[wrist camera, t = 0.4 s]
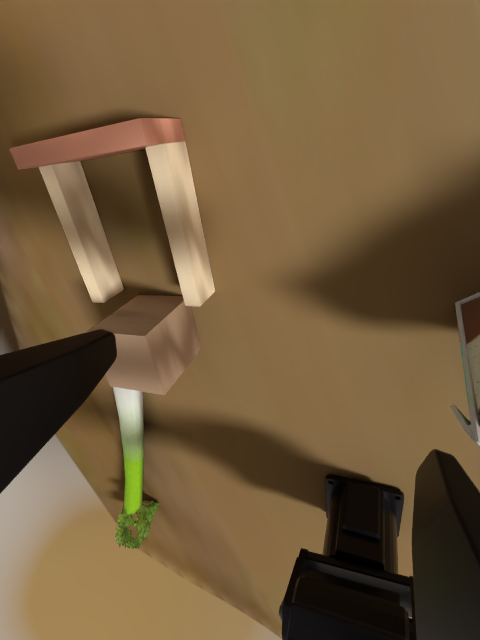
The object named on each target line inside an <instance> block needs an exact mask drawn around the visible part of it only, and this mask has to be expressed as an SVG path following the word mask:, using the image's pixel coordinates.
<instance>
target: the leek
mask: <svg viewBox="0 0 480 640" xmlns="http://www.w3.org/2000/svg"><path fill="white" fill-rule="evenodd" d="M113 390H114V395H115V400H116V405H117V410H118V415H119V421H120V429H121V437H122V445H123V455H124V470H125V494H124V506H123V510H122V513H121V514H122V515H120V514H119V515H118V516H119V518H118V519H117V521H119V522H118V523H119V524H118V523H117V524H116V525H117V526H118V525H119V527H120V528H119V529H118V528H116V531H117V532H116V533H117V534H116V537H118V540H119V539H121V538H122V539H123V541H122V539H121V540H120V542H118V541H117V540H115V541H116V543H119V545H121V544H122V546H124V544H125V547H126V546H127V547H128V548H130V546H131V548H132V549H133V548H139V546H140V543H141V542H143V540H144V539H145V538H146V539H147V536H148V535H149V533H150V531H149V532H148V530H149V529H150V525H151V522H152V521H153V517H152V516H155V515H154V514H155V511H157V510H158V509H157V508H159V505H157V504H159V503H155V502H154V501H151V502H152V505H151V506H150V505H148V506H147V504H145V505H146V506H145V505H143V503H142V499H143V471H144V423H143V392H142V391H136V390H130V389H124V388H117V387H113ZM154 505H156V506H155V507H154ZM135 511H136V514H137V515H138V518H137V522H136V521H135V522H134V520H133V519H132V517H133V515H134V513H135ZM122 522H123V523H122ZM130 522H131V523H130ZM120 523H121V524H120ZM128 525H129V526H131V525H133V526H135V525H136V526H137V533H138V532H140V533H138V536H137V538H136V541H134V540H135V539H134V538H132V536H131V535H132V534H131V532H132V531H131V530H130V534H131V535H130V534H129V527H128ZM136 526H135V527H136ZM147 533H148V534H147ZM146 535H147V536H146ZM131 542H133V544H132V543H131ZM138 545H139V546H138Z"/></svg>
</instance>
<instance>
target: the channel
mask: <svg viewBox="0 0 480 640" xmlns="http://www.w3.org/2000/svg"><path fill="white" fill-rule="evenodd" d="M9 149H10V152H11V154H12V156H13V159H14V161H15V163H16V166H17V168H18V170H21V169H28V168H36V167H39V169H40V172H41V174H42V177H43V179H44V182H45V184H46V187H47V189H48V192H49V194H50V197H51V199H52V202H53V204H54V207H55V209H56V212H57V214H58V217H59V219H60V222H61V224H62V227H63V229H64V232H65V234H66V237H67V239H68V242H69V244H70V247H71V249H72V252H73V254H74V257H75V259H76V262H77V264H78V267H79V269H80V272H81V274H82V277H83V279H84V282H85V284H86V287H87V289H88V292H89V294H90V297H91V299H92V302H98V303H104V302H106V301H107V300H109V299H111V298H112V297H114V296H115V295H117V294H118V293H120V292H121V291H123V290H124V288H123V285H122V282H121V279H120V276H119V273H118V270H117V267H116V265H115V262H114V259H113V256H112V253H111V250H110V247H109V244H108V241H107V238H106V235H105V232H104V229H103V227H102V224H101V221H100V218H99V215H98V212H97V209H96V206H95V203H94V200H93V197H92V194H91V192H90V189H89V186H88V183H87V180H86V177H85V174H84V171H83V168H82V165H81V162H80V161H83V160H89V159H94V158H99V157H105V156H110V155H116V154H121V153H126V152H132V151H137V150H143V149H146V152H147V156H148V160H149V164H150V168H151V172H152V176H153V180H154V184H155V188H156V192H157V196H158V200H159V204H160V208H161V211H162V215H163V219H164V223H165V227H166V231H167V235H168V239H169V243H170V247H171V251H172V255H173V259H174V263H175V267H176V271H177V275H178V279H179V283H180V287H181V291H182V295H183V299H184V303H185V306H201V305H202V304H203V303H204V302H205V301H206V300H207V299H208V298H209V297H210V296H211V295H212V294H213V293H214V292H215V288H214V283H213V278H212V273H211V268H210V263H209V258H208V253H207V248H206V243H205V238H204V233H203V228H202V223H201V218H200V213H199V208H198V203H197V198H196V193H195V188H194V183H193V178H192V173H191V168H190V163H189V158H188V153H187V148H186V142H185V137H184V132H183V127H182V122H181V119H170V118H138V119H134V120H130V121H125V122H121V123H117V124H112V125H108V126H104V127H99V128H95V129H91V130H86V131H82V132H78V133H73V134H69V135H65V136H60V137H56V138H52V139H47V140H43V141H39V142H35V143H30V144H26V145H22V146H17V147H13V148H9Z"/></svg>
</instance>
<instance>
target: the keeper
mask: <svg viewBox="0 0 480 640" xmlns="http://www.w3.org/2000/svg"><path fill="white" fill-rule="evenodd" d="M98 329H105V330H107V331H110V332H113V333H114V335H115V338H116V347H117V357H116V360H115V362H114V363H113V364H112V366H111V367H110V368H109V370H108V371H107V372H106V374H105V375H106V377H107V379H108V382H109V384H110V386H111V387H117V388H124V389H130V390H136V391H142V392H148V393H154V394H160V395H165V394H166V393H167V391H168V390H169V389H170V388H171V386H172V385H173V384H174V383H175V381H176V380H177V379H178V378H179V376H180V375H181V374H182V373H183V371H184V370H185V369H186V368H187V366H188V365H189V364H190V363H191V361H192V360H193V359H194V357H195V356H196V355H197V354H198V352H199V351H200V350H201V345H200V340H199V336H198V332H197V328H196V324H195V320H194V316H193V312H192V307H191V306H185V303H184V299H183V296H156V295H137V296H136V297H134V298H133V299H132V300H130V301H129V302H127V303H126V304H125V305H123V306H122V307H120V308H119V309H118V310H116V311H115V312H113V313H112V314H111V315H109V316H108V317H106V318H105V319H104V320H102V321H101V322H99V323H98V324H96V325H95V326H94V327H92V328H91V329H89V330H88V331H87V332H90V331H94V330H98Z"/></svg>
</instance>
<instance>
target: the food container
mask: <svg viewBox="0 0 480 640" xmlns="http://www.w3.org/2000/svg"><path fill="white" fill-rule="evenodd" d="M455 308H456V316H457V323H458V330H459V338H460V345H461V353H462V360H463V368H464V375H465V383H466V390H467V398H468V405H469V413H470V420H471V422H470V421H469V420H468V419H467V418H466V417H465V416H464V415H463V414H462V413H461V412H460V410H459V409H458V408H457V407H456V406H455V405H452V406H450V407H451V408H452V410H453V412H454V413H455V415H456V417H457V418H458V420H459V422H460V423H461V425H462V427H463V428H464V430H465V431H466V432H467V434H468V435H469V436H470V437H471V438H472V439H473V440H474V442H475V443H476V444H477V445H478V446H479V447H480V292H479V293H476V294H474V295H472V296H469V297H467V298H465V299H462V300H460V301H458V302H456V303H455Z"/></svg>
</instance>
